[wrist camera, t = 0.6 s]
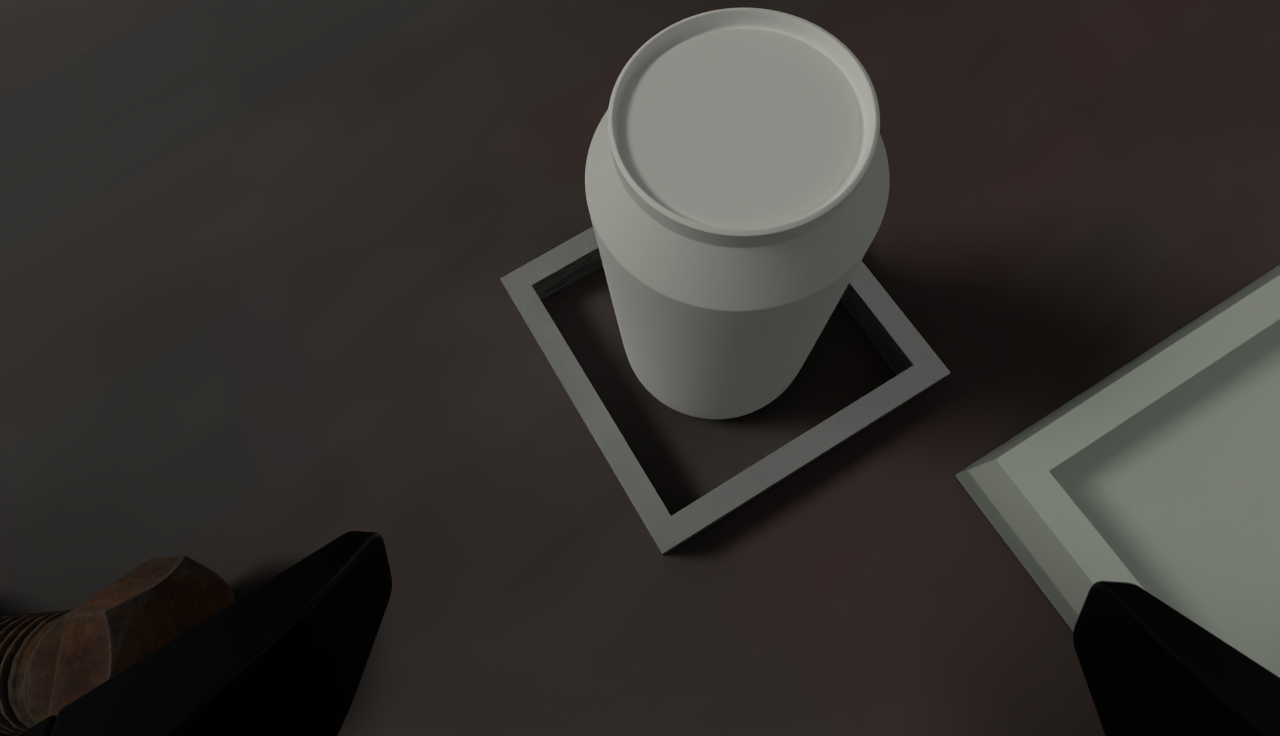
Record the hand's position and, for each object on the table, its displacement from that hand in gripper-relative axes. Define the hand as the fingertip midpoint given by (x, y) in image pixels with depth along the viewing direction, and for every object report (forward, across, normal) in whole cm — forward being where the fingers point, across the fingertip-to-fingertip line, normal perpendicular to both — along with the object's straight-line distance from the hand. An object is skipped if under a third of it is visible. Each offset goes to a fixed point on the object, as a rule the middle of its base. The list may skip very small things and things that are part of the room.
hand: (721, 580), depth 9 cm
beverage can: (+15, 0, +3) cm, 16 cm away
